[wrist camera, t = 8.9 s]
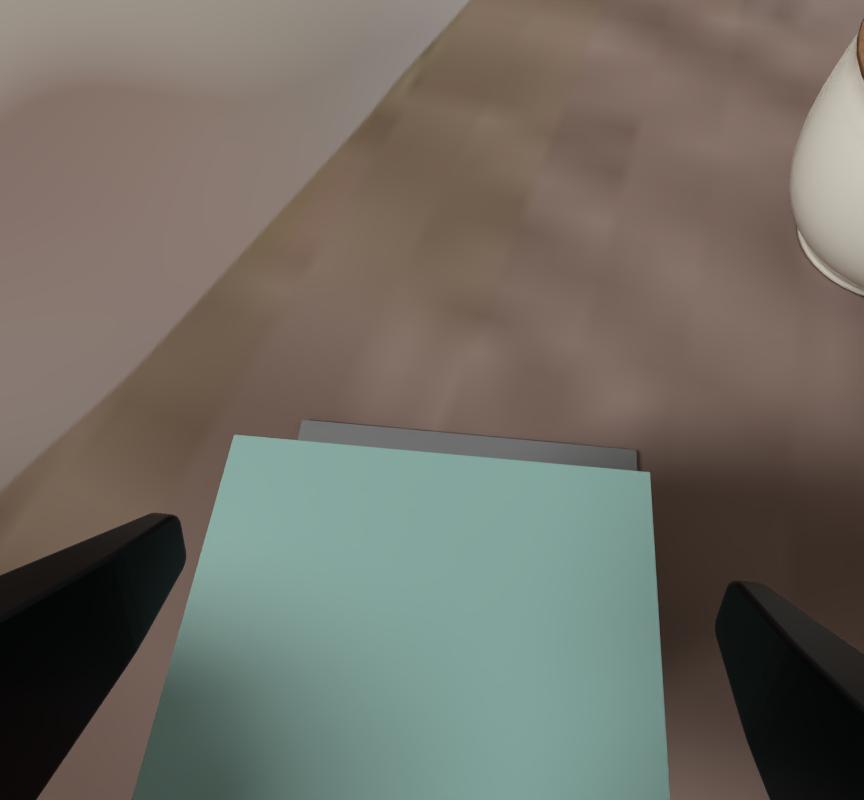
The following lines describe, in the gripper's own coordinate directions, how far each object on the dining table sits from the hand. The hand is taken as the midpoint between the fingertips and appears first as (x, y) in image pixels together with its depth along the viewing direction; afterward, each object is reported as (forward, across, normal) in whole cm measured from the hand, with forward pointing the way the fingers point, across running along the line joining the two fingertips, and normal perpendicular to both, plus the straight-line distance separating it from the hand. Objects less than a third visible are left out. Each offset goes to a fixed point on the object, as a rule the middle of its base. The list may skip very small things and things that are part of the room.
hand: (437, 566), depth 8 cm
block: (+5, 0, +6) cm, 8 cm away
